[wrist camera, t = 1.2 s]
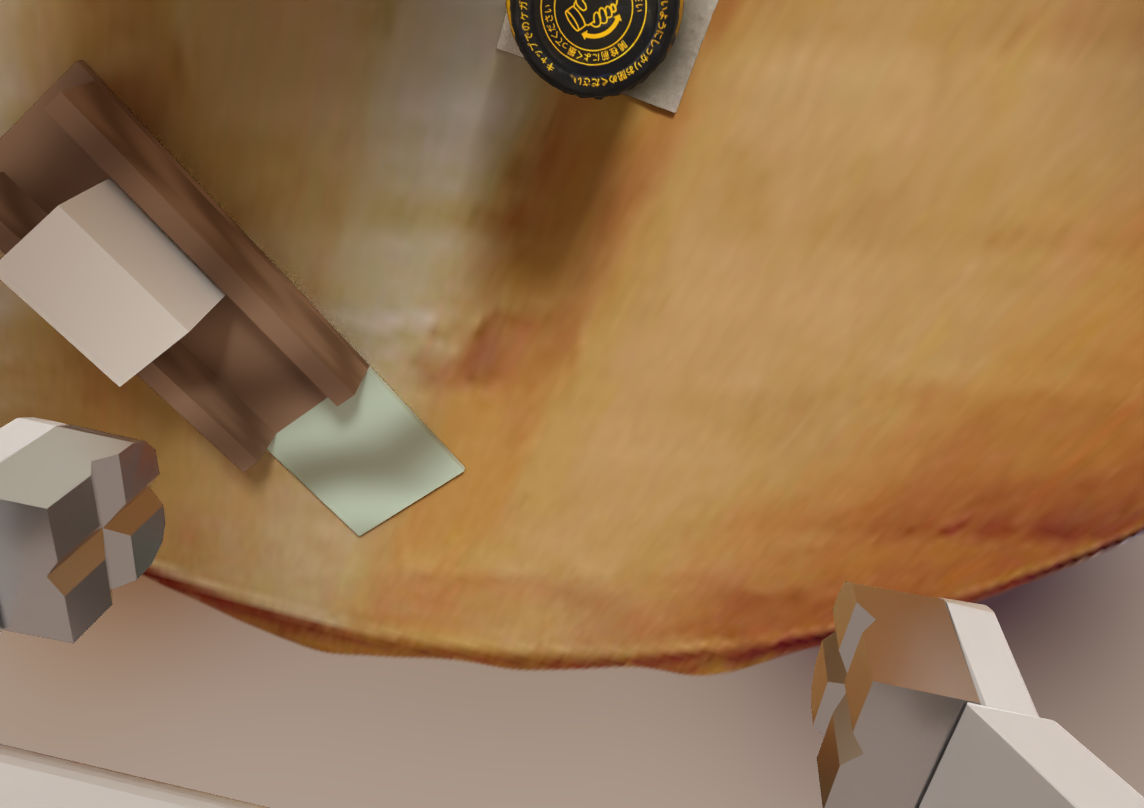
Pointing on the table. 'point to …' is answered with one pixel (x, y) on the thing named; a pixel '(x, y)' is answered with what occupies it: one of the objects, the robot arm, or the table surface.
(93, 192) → the block
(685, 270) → the table surface
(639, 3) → the condiment
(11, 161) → the chute
